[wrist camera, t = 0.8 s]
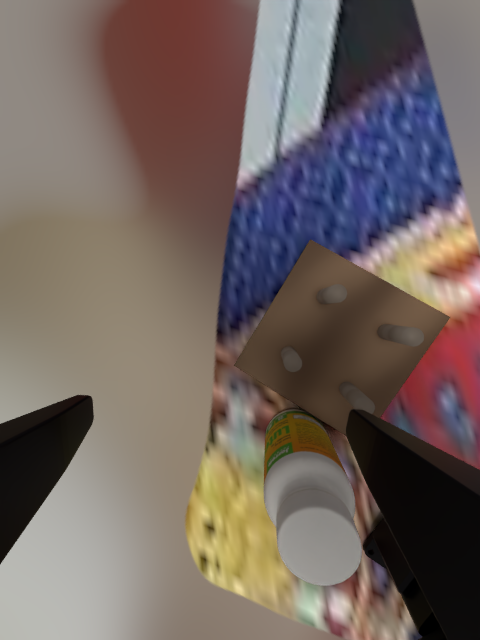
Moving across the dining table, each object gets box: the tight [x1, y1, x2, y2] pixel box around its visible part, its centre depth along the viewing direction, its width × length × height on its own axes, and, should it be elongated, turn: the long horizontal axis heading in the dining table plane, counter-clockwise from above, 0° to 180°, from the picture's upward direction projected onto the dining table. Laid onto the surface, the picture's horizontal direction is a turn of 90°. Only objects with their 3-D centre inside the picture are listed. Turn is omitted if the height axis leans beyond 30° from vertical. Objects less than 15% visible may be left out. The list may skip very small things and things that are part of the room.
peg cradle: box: [234, 240, 450, 435], centre depth 17 cm, size 12×12×5 cm
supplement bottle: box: [264, 409, 362, 586], centre depth 16 cm, size 5×5×10 cm
